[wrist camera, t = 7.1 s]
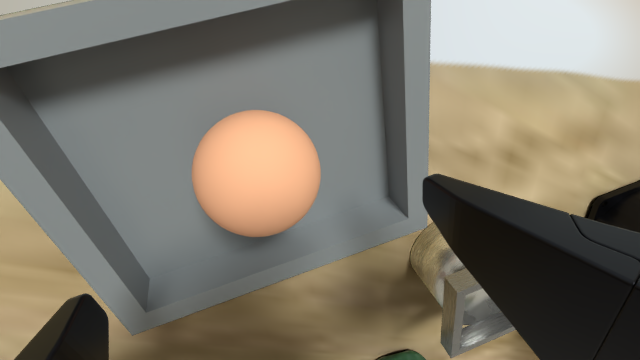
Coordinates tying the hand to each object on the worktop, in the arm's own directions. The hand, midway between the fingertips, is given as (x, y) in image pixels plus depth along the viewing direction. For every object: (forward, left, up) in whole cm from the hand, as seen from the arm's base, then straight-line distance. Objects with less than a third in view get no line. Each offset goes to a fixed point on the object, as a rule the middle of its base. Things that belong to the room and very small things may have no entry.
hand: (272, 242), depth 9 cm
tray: (0, 0, -6) cm, 7 cm away
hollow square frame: (-10, +11, -6) cm, 16 cm away
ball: (0, 0, -6) cm, 6 cm away
